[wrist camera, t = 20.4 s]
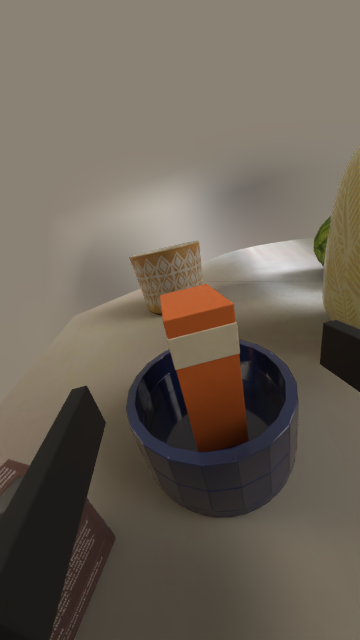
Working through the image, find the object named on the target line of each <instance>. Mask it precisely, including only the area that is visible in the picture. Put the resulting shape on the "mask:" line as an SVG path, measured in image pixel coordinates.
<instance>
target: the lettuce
mask: <svg viewBox="0 0 360 640" xmlns="http://www.w3.org/2000/svg"><path fill="white" fill-rule="evenodd" d="M330 220H331V216H330V217H329V218H328V219H327V220H326V221H325V223H324V224H323V225H322V226H321V227H320V229H319V231H318V233H317V235H316V237H315V239H314V252H315V255H316V257H317V259H318V261H319V262H320V263H321V264H322V266H323V267H324V262H325V253H326V246H327V239H328V232H329V226H330Z"/></svg>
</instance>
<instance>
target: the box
mask: <svg viewBox="0 0 360 640" xmlns="http://www.w3.org/2000/svg"><path fill="white" fill-rule="evenodd" d="M29 467H30V466H29V465H26V464H23V463H20V462H17V461H14V460H11V459H8V460H7V461H6V462H5V463H4V464H3V465H2V466H1V467H0V496H1V495H2V494H3V493H4V491H5V490H6V489H7V488H8V487H9V486H10V484H11V483H12V482H13V481H14V480H15V479H16V478H17V477H20V476H24V475H25V474H26V472H27V470H28V468H29ZM114 540H115V535H114V534H113V532H112V531H111V530H110V528H109V527H108V526H107V524H106V523H105V522H104V520H103V519H102V518H101V517H100V515H99V514H98V513H97V512H96V510H95V509H94V508H93V506H92V505H91V504H90V502H89V501H88V499H87V497H86V501H85V505H84V509H83V513H82V517H81V521H80V525H79V529H78V532H77V536H76V540H75V544H74V548H73V552H72V556H71V560H70V563H69V567H68V571H67V575H66V579H65V583H64V587H63V591H62V594H61V598H60V602H59V606H58V610H57V614H56V618H55V622H54V625H53V629H52V633H51V637H50V640H74V637H75V635H76V632H77V630H78V627H79V625H80V622H81V620H82V617H83V615H84V613H85V611H86V608H87V606H88V603H89V601H90V598H91V596H92V593H93V591H94V589H95V586H96V584H97V581H98V579H99V576H100V574H101V572H102V569H103V567H104V564H105V562H106V559H107V557H108V555H109V552H110V550H111V547H112V545H113V542H114Z"/></svg>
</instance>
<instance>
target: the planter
mask: <svg viewBox="0 0 360 640" xmlns="http://www.w3.org/2000/svg"><path fill="white" fill-rule="evenodd" d="M129 258H130V261H131V263H132V266H133V269H134V271H135V274H136V276H137V279H138V282H139V285H140V287H141V290H142V293H143V295H144V298H145V301H146V303H147V306H148V308H149V310H150V311H152V312H153V313H156V314H162V310H161V302H160V295H163V294H167V293H171V292H175V291H179V290H183V289H187V288H192V287H196V286H200V285H203V279H202V269H201V258H200V247H199V241H194V242H188V243H183V244H179V245H174V246H170V247H166V248H161V249H157V250H153V251H149V252H145V253H141V254H137V255H133V256H130V257H129Z"/></svg>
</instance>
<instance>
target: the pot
mask: <svg viewBox="0 0 360 640" xmlns="http://www.w3.org/2000/svg"><path fill="white" fill-rule="evenodd" d="M239 347H240V354H239V358H240V367H241V376H242V385H243V395H244V404H245V413H246V422H247V431H248V440H249V441H247V442H245V443H242V444H239V445H235V446H232V447H228V448H225V449H221V450H217V451H209V452H198V449H197V445H196V442H195V438H194V434H193V430H192V427H191V423H190V419H189V416H188V412H187V408H186V405H185V401H184V397H183V394H182V390H181V386H180V382H179V379H178V375H177V371H176V370H175V367H174V363H173V360H172V356H171V352H170V349H169V350H167V351H165V352H163V353H161V354H160V355H159V356H157V357H156V358H155V359H153V360H152V361H151V362H149V363H148V364H147V365H146V366H145V367H144V368H143V369H142V370H141V372H140V373H139V374H138V375H137V376H136V378H135V380H134V382H133V384H132V386H131V387H130V389H129V393H128V399H127V405H126V411H127V415H128V420H129V424H130V428H131V430H132V432H133V435H134V437H135V439H136V441H137V443H138V446H139V448H140V450H141V452H142V455H143V457H144V459H145V461H146V464H147V466H148V468H149V469H150V471H151V472H152V474H153V476H154V478H155V480H156V481H157V483H158V484H159V486H160V487H161V489H162V490H163V491H164V492H165V493H166V494H167V495H168V496H169V497H170V498H171V499H173V500H174V501H175V502H177V503H178V504H179V505H181V506H183V507H185V508H187V509H189V510H191V511H193V512H197V513H200V514H203V515H208V516H214V517H232V516H237V515H242V514H246V513H248V512H251V511H253V510H256V509H258V508H260V507H261V506H263V505H265V504H266V503H268V502H269V501H270V500H271V499H272V498H274V497H275V496H276V495H277V494H278V493H279V492H280V490H281V489H282V488H283V486H284V485H285V484H286V482H287V480H288V478H289V476H290V474H291V472H292V468H293V465H294V461H295V453H296V450H297V426H298V393H297V383H296V381H295V379H294V377H293V375H292V374H291V372H290V370H289V368H288V366H287V365H286V364H285V363H284V362H283V361H282V360H281V359H279V358H278V357H277V356H276V355H275V354H274V353H273V352H271V351H269V350H267V349H265V348H263V347H261V346H259V345H257V344H254V343H250V342H247V341H243V340H239Z"/></svg>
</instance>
